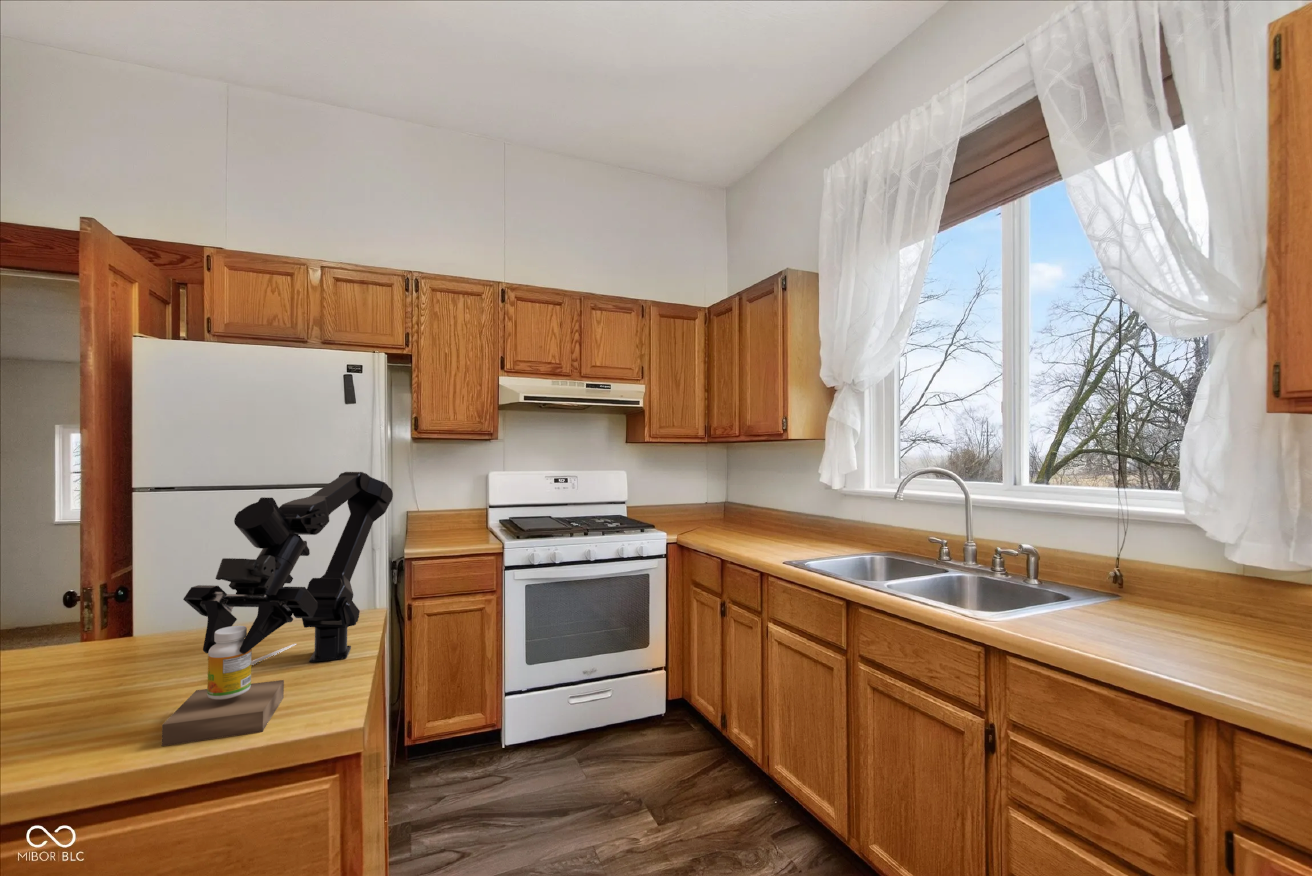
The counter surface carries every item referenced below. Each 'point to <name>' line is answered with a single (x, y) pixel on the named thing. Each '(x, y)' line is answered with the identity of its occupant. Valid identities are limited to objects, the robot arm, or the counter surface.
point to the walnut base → (223, 714)
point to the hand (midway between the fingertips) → (223, 652)
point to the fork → (270, 655)
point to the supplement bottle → (228, 664)
